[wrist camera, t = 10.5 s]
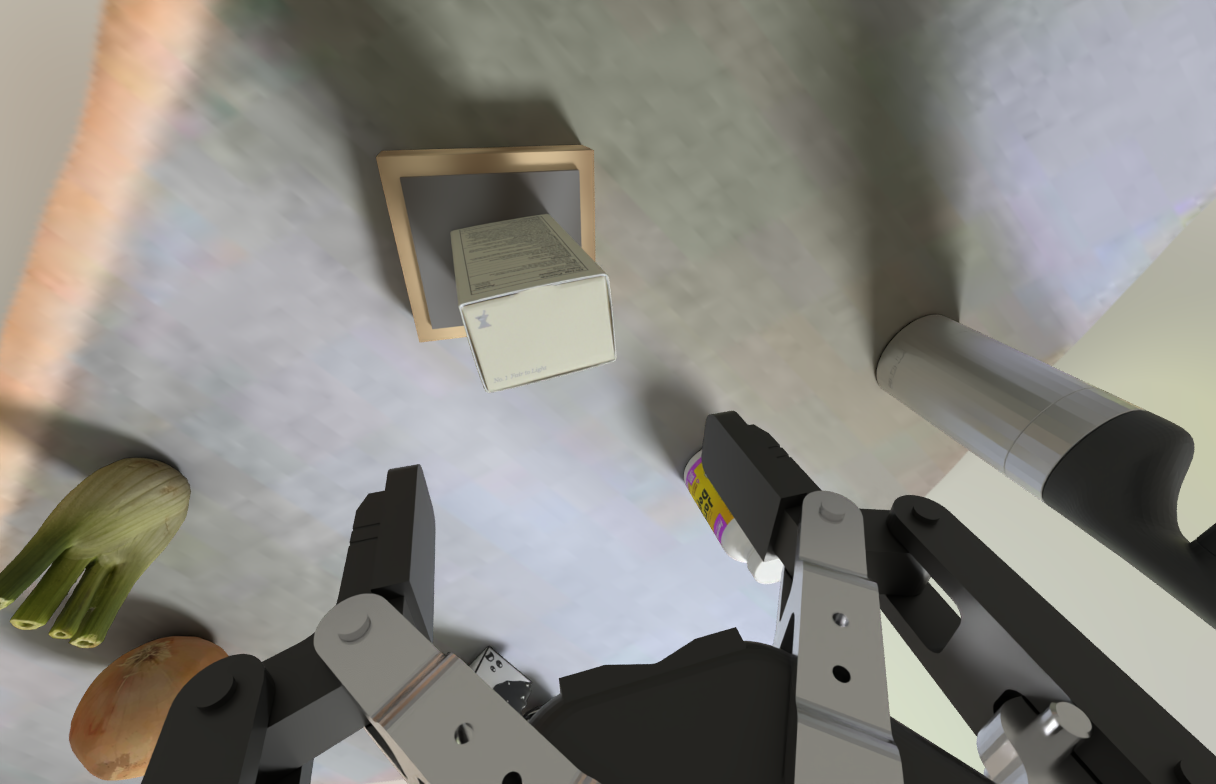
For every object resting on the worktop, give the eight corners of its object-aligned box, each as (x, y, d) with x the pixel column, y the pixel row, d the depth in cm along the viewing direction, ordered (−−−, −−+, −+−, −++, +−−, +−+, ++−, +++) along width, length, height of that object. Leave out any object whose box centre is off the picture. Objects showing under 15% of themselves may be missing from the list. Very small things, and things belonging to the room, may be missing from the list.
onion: (153, 690, 45) (90, 822, 37) (86, 631, 40) (-6, 771, 32) (267, 659, 47) (231, 778, 39) (219, 598, 42) (165, 723, 34)
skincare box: (468, 297, 30) (480, 399, 21) (448, 226, 28) (450, 304, 18) (564, 277, 32) (619, 366, 22) (553, 207, 29) (609, 272, 19)
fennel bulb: (94, 448, 32) (-55, 606, 23) (182, 441, 34) (78, 586, 24) (131, 511, 35) (14, 673, 26) (211, 501, 37) (128, 652, 27)
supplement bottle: (676, 456, 48) (740, 558, 38) (736, 431, 49) (815, 525, 38) (686, 498, 52) (747, 602, 42) (742, 475, 53) (815, 572, 42)
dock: (581, 144, 31) (595, 150, 28) (586, 305, 37) (597, 323, 34) (381, 150, 28) (374, 158, 25) (421, 323, 34) (419, 345, 31)
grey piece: (587, 696, 69) (606, 776, 61) (527, 728, 69) (539, 813, 61) (491, 623, 54) (500, 718, 46) (415, 665, 54) (411, 767, 46)
